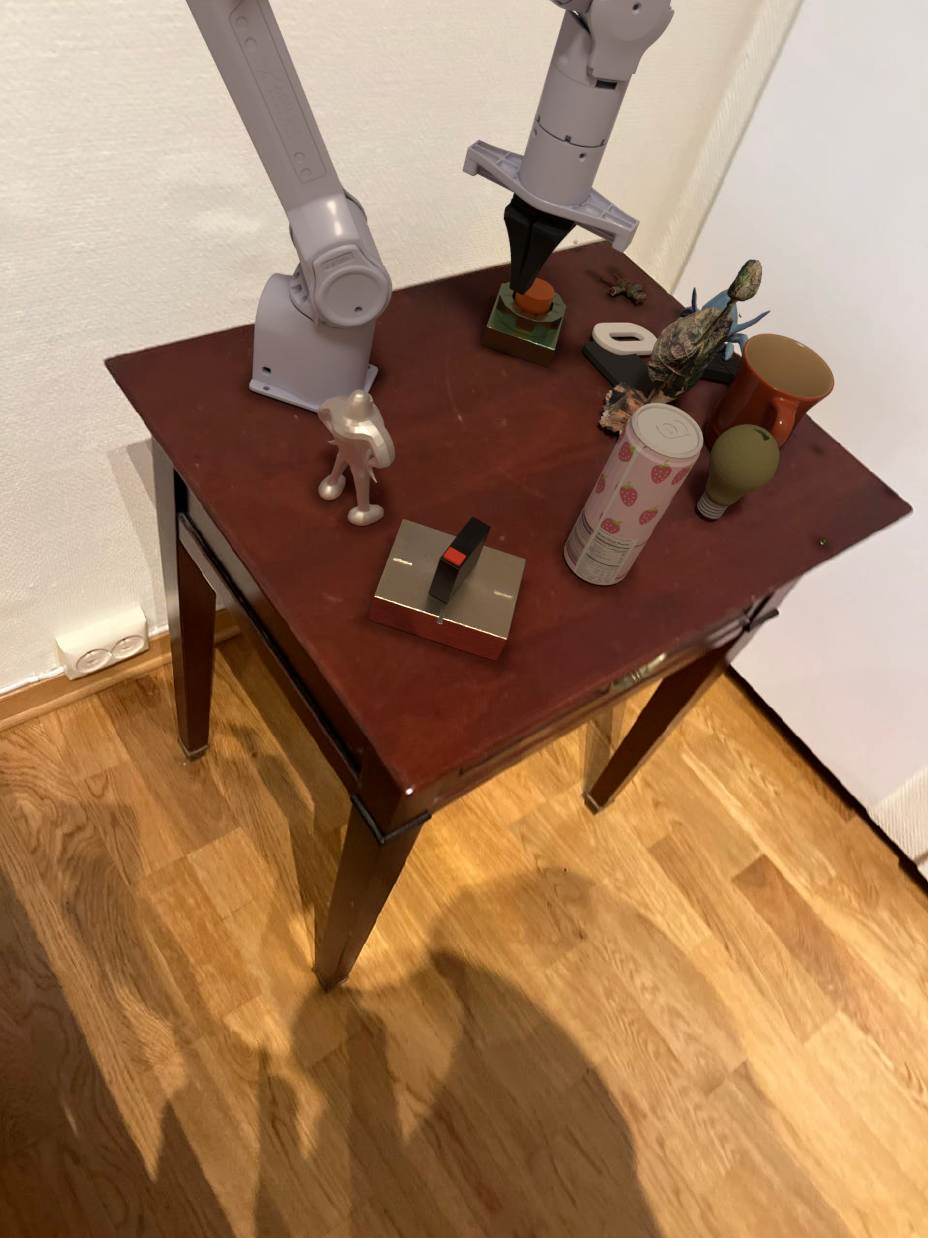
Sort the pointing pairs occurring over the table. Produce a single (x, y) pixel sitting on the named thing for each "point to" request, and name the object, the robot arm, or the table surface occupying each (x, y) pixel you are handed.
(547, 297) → the button
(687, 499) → the table surface
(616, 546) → the beverage can
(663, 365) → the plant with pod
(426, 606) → the panel
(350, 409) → the figurine
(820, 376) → the mug
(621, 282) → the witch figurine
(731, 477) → the light bulb
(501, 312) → the button block
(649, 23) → the robot arm
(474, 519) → the knob
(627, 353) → the chain link
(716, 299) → the figurine
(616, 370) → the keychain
